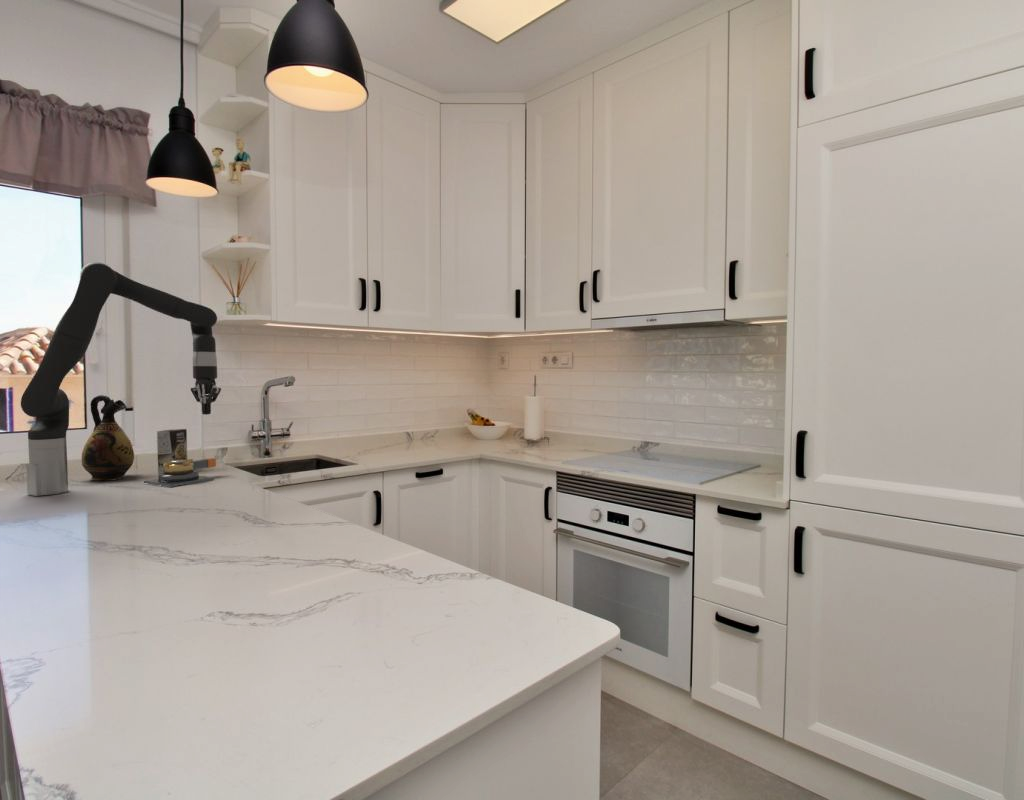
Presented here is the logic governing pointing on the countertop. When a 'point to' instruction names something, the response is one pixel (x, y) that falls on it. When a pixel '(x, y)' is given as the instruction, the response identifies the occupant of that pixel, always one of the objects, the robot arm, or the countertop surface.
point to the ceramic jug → (107, 443)
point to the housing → (178, 478)
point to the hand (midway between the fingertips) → (206, 414)
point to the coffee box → (171, 446)
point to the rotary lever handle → (187, 466)
